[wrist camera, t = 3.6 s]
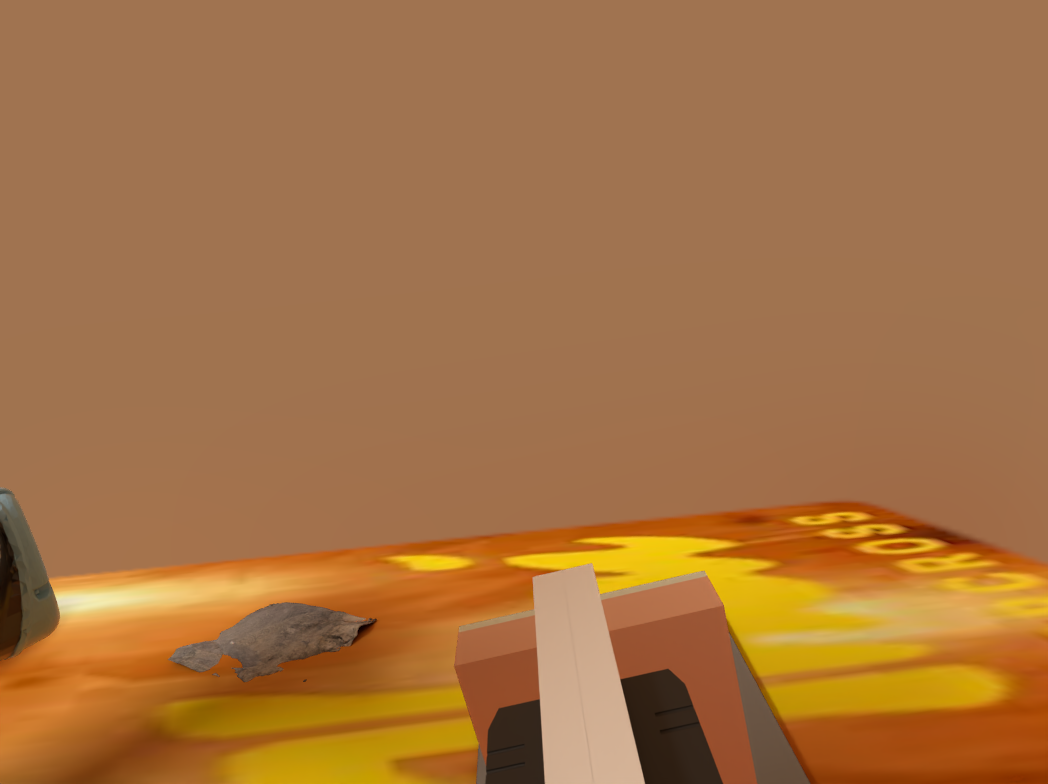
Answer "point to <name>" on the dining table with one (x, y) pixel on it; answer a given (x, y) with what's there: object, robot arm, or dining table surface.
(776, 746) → the rubber mat
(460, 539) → the dining table surface
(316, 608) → the stone slab
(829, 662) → the dining table surface
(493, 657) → the terracotta tile
